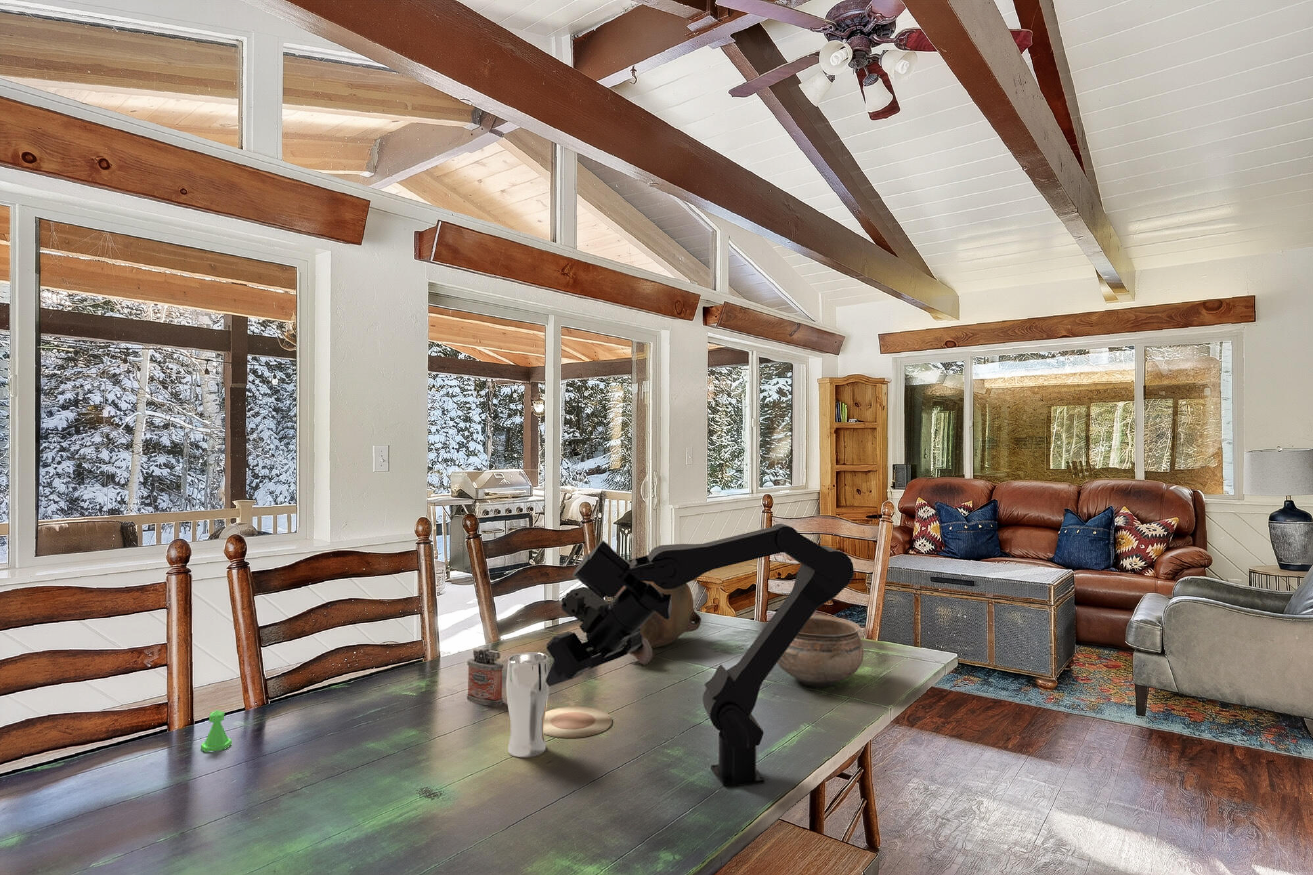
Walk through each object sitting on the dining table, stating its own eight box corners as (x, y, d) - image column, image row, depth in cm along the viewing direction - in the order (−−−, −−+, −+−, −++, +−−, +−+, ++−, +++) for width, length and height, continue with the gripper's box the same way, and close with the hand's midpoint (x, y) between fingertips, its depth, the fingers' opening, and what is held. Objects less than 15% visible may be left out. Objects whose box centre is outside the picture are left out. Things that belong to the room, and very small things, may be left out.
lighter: (462, 699, 142) (463, 648, 142) (474, 694, 145) (475, 644, 145) (495, 707, 138) (495, 654, 138) (506, 701, 141) (507, 649, 141)
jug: (640, 630, 197) (599, 683, 168) (622, 561, 195) (578, 603, 167) (711, 621, 190) (681, 675, 162) (694, 550, 188) (660, 591, 160)
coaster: (619, 733, 126) (619, 731, 126) (537, 741, 122) (537, 739, 122) (603, 705, 139) (603, 703, 139) (530, 711, 136) (530, 709, 136)
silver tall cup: (539, 760, 115) (540, 665, 115) (498, 756, 116) (499, 662, 116) (554, 743, 121) (555, 653, 122) (515, 739, 123) (516, 650, 123)
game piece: (199, 754, 116) (199, 716, 116) (202, 744, 120) (203, 707, 120) (230, 749, 118) (230, 712, 118) (232, 740, 122) (233, 703, 122)
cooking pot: (820, 661, 170) (820, 608, 170) (890, 682, 155) (890, 624, 155) (743, 681, 154) (744, 624, 155) (813, 707, 140) (814, 643, 140)
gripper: (627, 564, 121) (572, 622, 126) (557, 582, 104) (498, 647, 110) (668, 618, 117) (610, 675, 122) (602, 645, 100) (538, 710, 106)
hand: (566, 675), depth 115 cm, fingers open, 9 cm apart
